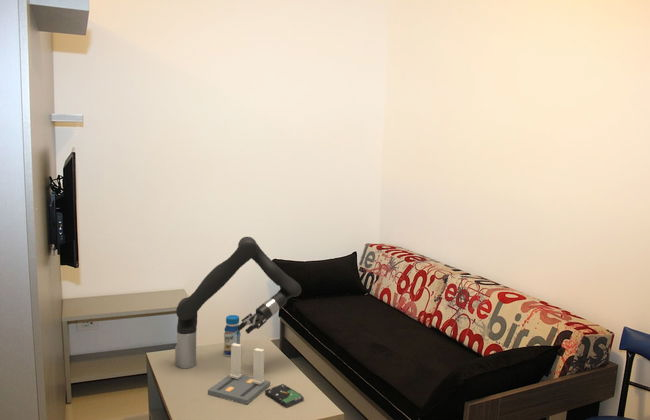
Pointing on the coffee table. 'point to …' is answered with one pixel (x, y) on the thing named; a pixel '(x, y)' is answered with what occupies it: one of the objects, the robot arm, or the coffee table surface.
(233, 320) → the beverage bottle
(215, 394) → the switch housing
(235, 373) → the beige square pillar
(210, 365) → the coffee table surface
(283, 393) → the disk drive
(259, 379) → the beige tall rectangular block
